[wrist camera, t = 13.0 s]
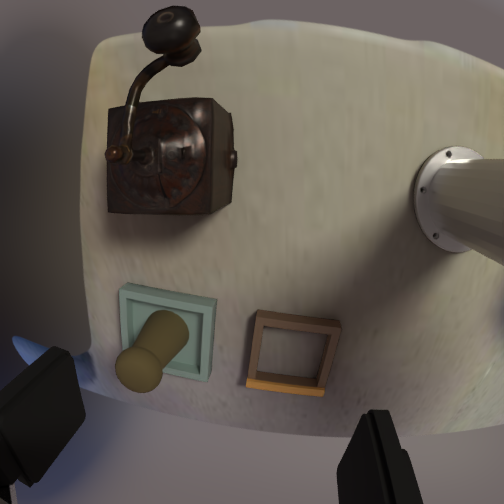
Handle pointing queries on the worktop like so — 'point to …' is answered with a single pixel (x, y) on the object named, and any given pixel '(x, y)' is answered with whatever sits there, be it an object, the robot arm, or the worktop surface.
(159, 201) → the brown coffee grinder
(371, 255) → the worktop surface
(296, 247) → the worktop surface
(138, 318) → the tray
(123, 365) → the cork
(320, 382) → the holder frame
